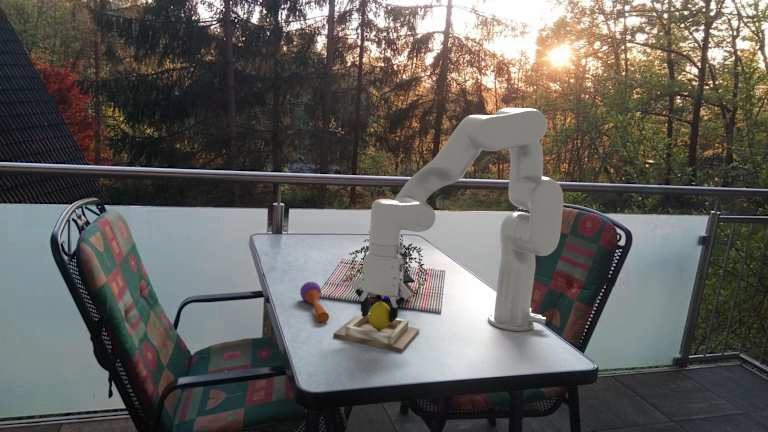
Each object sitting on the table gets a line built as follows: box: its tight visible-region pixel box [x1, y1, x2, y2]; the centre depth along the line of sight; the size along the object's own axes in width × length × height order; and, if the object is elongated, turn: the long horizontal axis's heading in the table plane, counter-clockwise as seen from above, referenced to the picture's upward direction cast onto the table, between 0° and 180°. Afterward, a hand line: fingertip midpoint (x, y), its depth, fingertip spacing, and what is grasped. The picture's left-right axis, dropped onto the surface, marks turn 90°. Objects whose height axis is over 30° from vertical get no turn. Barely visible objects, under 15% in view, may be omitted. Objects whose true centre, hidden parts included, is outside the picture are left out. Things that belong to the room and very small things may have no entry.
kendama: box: [299, 281, 330, 324], centre depth 155 cm, size 6×6×20 cm
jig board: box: [333, 311, 420, 353], centre depth 140 cm, size 18×14×3 cm
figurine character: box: [368, 273, 415, 303], centre depth 167 cm, size 7×8×15 cm
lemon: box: [369, 300, 390, 331], centre depth 139 cm, size 6×6×8 cm
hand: (378, 317), depth 140 cm, fingers open, 6 cm apart
